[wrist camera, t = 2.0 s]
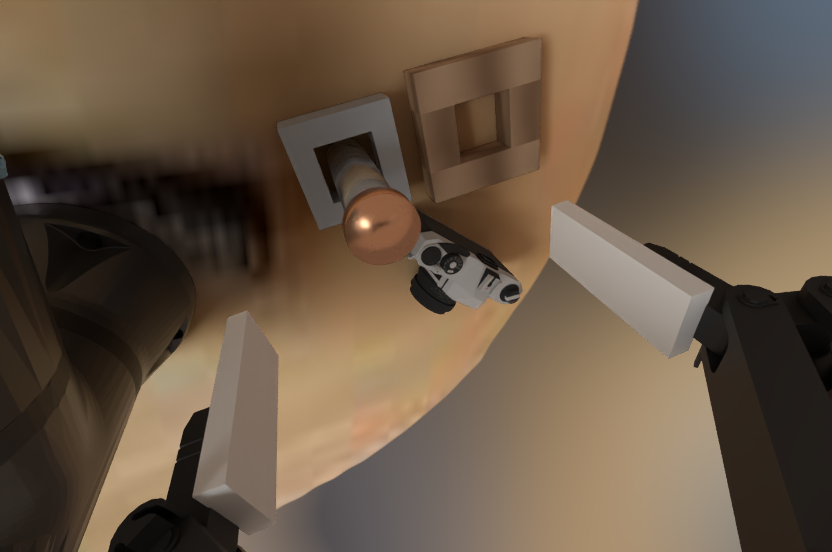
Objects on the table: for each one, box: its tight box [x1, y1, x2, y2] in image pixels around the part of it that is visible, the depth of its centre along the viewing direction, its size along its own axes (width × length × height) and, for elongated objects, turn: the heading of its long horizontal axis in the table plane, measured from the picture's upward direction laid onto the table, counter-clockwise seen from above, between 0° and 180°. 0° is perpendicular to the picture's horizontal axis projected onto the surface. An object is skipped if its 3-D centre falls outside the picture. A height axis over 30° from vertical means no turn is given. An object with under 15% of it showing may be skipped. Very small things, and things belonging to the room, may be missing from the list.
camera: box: [407, 207, 523, 314], centre depth 34 cm, size 13×8×9 cm, turn 57°
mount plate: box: [277, 93, 412, 230], centre depth 28 cm, size 8×8×2 cm
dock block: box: [403, 37, 542, 203], centre depth 29 cm, size 10×10×2 cm
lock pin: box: [327, 139, 421, 265], centre depth 24 cm, size 4×4×13 cm
